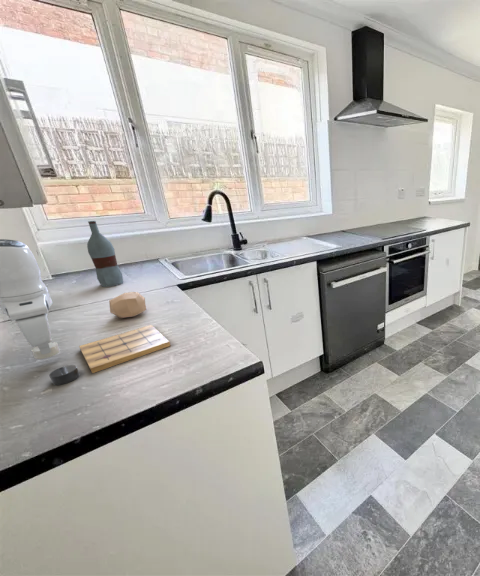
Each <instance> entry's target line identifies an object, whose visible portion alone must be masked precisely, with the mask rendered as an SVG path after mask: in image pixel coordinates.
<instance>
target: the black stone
mask: <svg viewBox="0 0 480 576" xmlns="http://www.w3.org/2000/svg"><path fill="white" fill-rule="evenodd" d="M48 375H49V379H50V381H51V383H52V385H54V386H61V385H65V384H68V383H71V382H74V381H75V380H77V379H78V378H79V377H80V375H81V374H80V371H79V369H78V367H77V365H74V364H71V365H65V366H62V367H59V368H57V369H54V370H52V371H51V372H50V373H49V374H48Z"/></svg>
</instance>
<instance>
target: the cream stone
mask: <svg viewBox="0 0 480 576" xmlns="http://www.w3.org/2000/svg"><path fill="white" fill-rule="evenodd" d="M49 347H50V350H51V352H50V353H47V354H41V352H40V349H39V348H38V346H37V347H32V348H31V350H30V351H31V353H32V356H33V358H34V359H35V360H43V359H48V358H51V357H54V356H57V355H58V354H60V353H61V348H60V345H59V344H58V342H57V341H51V343H49Z"/></svg>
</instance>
